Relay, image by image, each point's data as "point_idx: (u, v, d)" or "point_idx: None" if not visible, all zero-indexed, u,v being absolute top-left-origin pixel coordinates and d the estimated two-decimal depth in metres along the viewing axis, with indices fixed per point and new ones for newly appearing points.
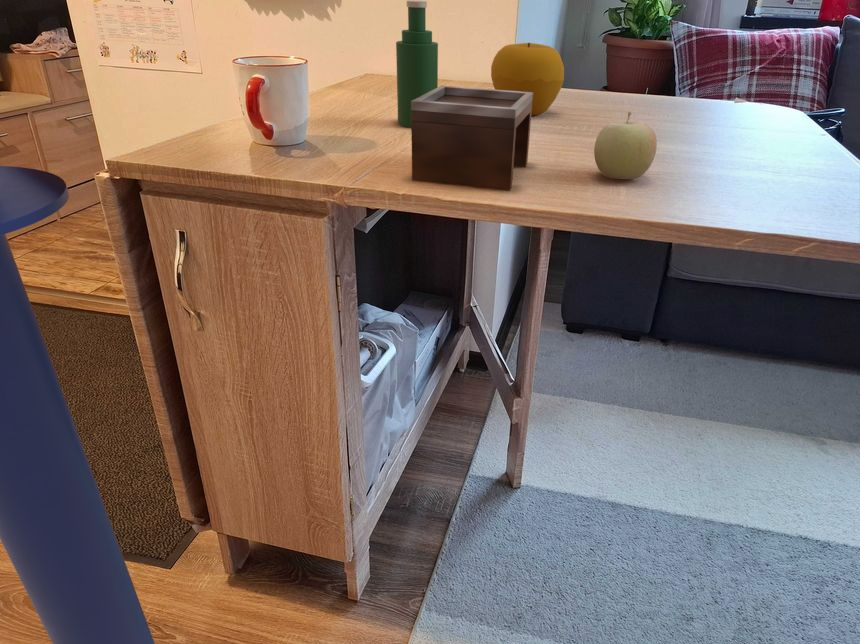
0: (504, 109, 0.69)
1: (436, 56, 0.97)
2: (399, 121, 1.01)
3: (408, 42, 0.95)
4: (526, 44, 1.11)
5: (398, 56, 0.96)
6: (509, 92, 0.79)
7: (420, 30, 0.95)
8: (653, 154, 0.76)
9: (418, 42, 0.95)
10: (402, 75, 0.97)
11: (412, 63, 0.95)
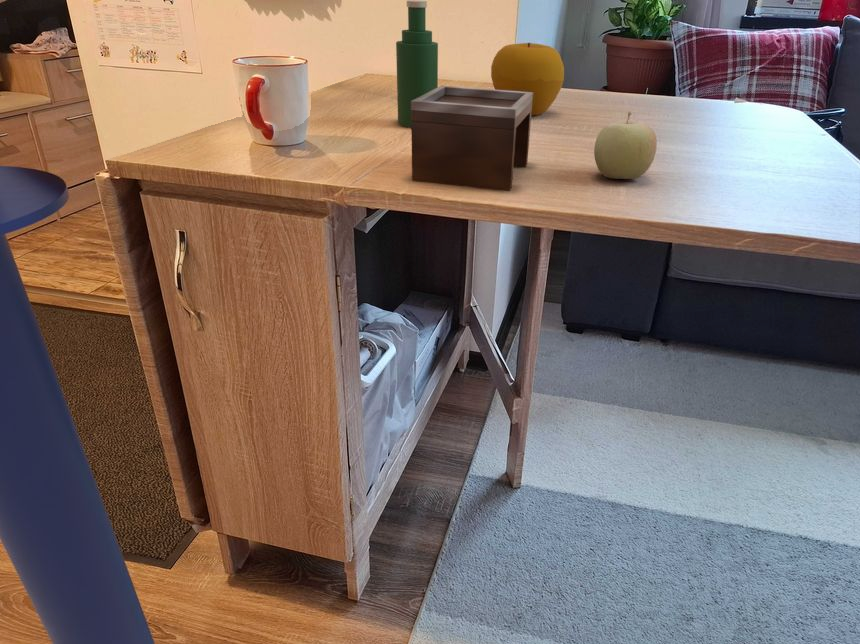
0: (504, 109, 0.69)
1: (436, 56, 0.97)
2: (399, 121, 1.01)
3: (408, 42, 0.95)
4: (526, 44, 1.11)
5: (398, 56, 0.96)
6: (509, 92, 0.79)
7: (420, 30, 0.95)
8: (653, 154, 0.76)
9: (418, 42, 0.95)
10: (402, 75, 0.97)
11: (412, 63, 0.95)
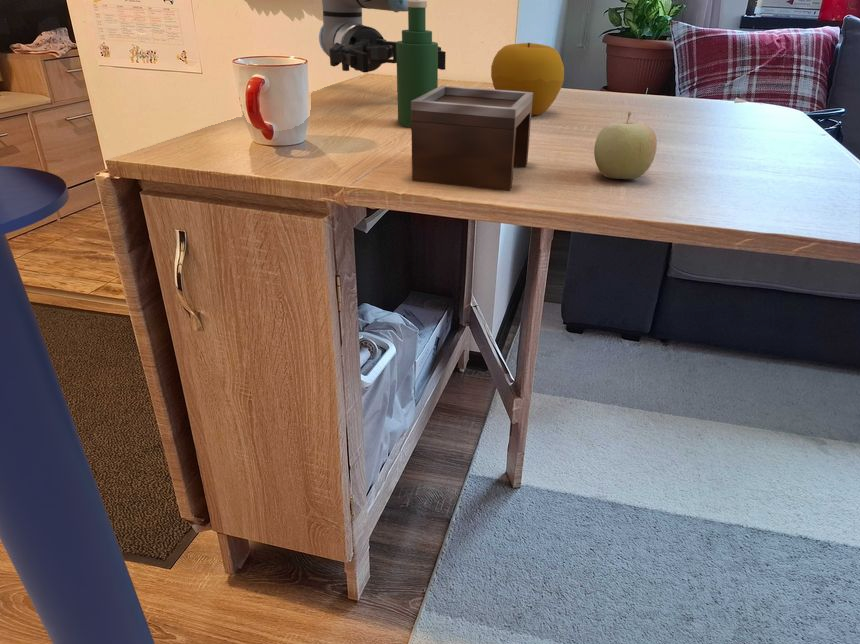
0: (504, 109, 0.69)
1: (436, 56, 0.97)
2: (399, 121, 1.01)
3: (408, 42, 0.95)
4: (526, 44, 1.11)
5: (398, 56, 0.96)
6: (509, 92, 0.79)
7: (420, 30, 0.95)
8: (653, 154, 0.76)
9: (418, 42, 0.95)
10: (402, 75, 0.97)
11: (412, 63, 0.95)
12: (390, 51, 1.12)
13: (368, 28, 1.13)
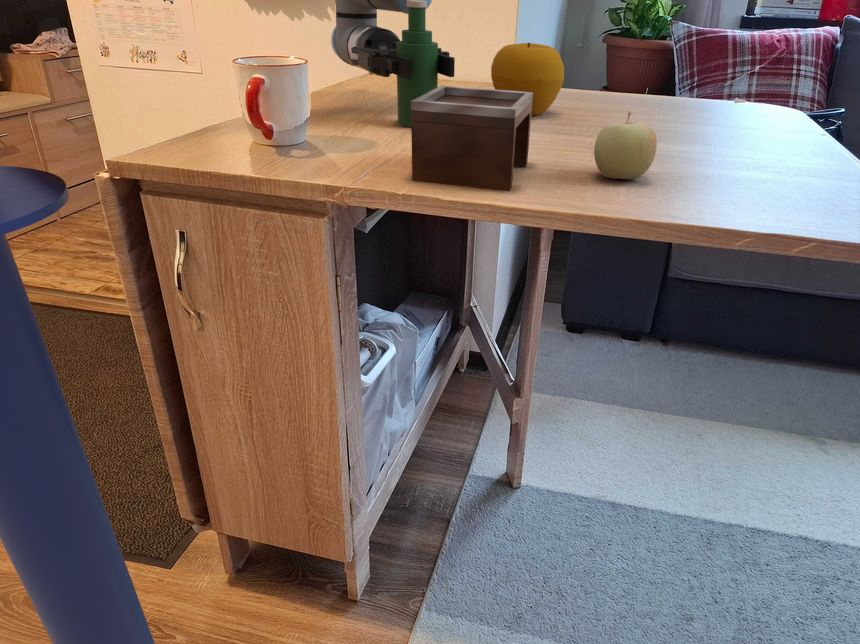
0: (504, 109, 0.69)
1: (436, 56, 0.97)
2: (399, 121, 1.01)
3: (408, 42, 0.95)
4: (526, 44, 1.11)
5: None
6: (509, 92, 0.79)
7: (420, 30, 0.95)
8: (653, 154, 0.76)
9: (418, 42, 0.95)
10: None
11: (412, 63, 0.95)
12: None
13: (384, 30, 1.07)
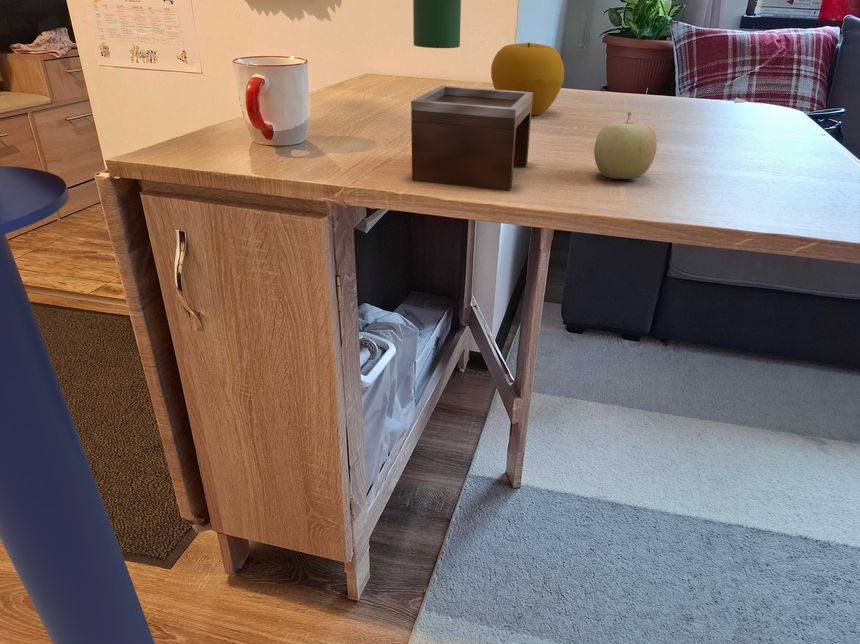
0: (504, 109, 0.69)
1: None
2: (415, 41, 0.86)
3: None
4: (526, 44, 1.11)
5: None
6: (509, 92, 0.79)
7: None
8: (653, 154, 0.76)
9: None
10: None
11: None
12: None
13: None
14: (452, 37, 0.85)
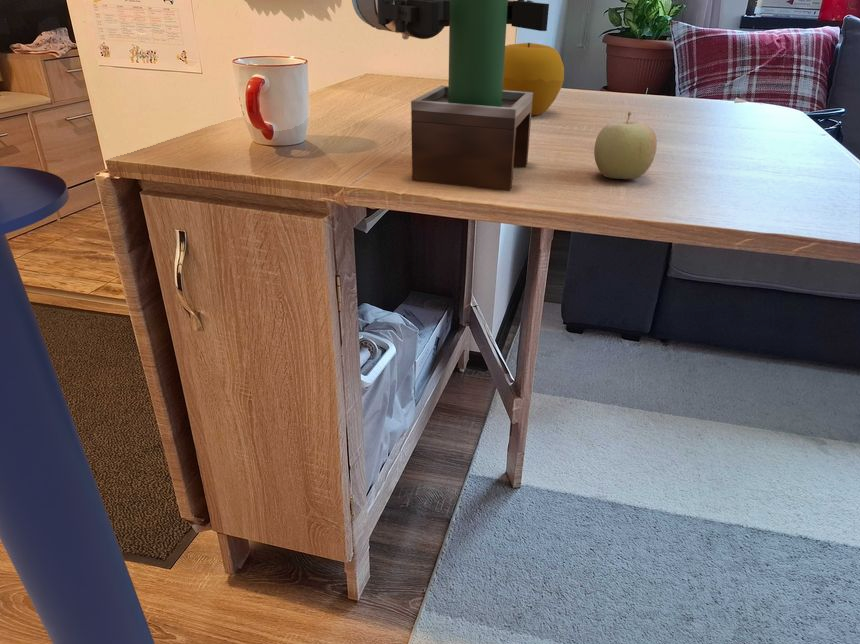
0: (504, 109, 0.69)
1: (506, 9, 0.69)
2: (451, 101, 0.74)
3: None
4: (526, 44, 1.11)
5: (453, 8, 0.69)
6: (509, 92, 0.79)
7: None
8: (653, 154, 0.76)
9: None
10: (459, 36, 0.69)
11: (473, 18, 0.68)
12: None
13: None
14: (494, 97, 0.73)
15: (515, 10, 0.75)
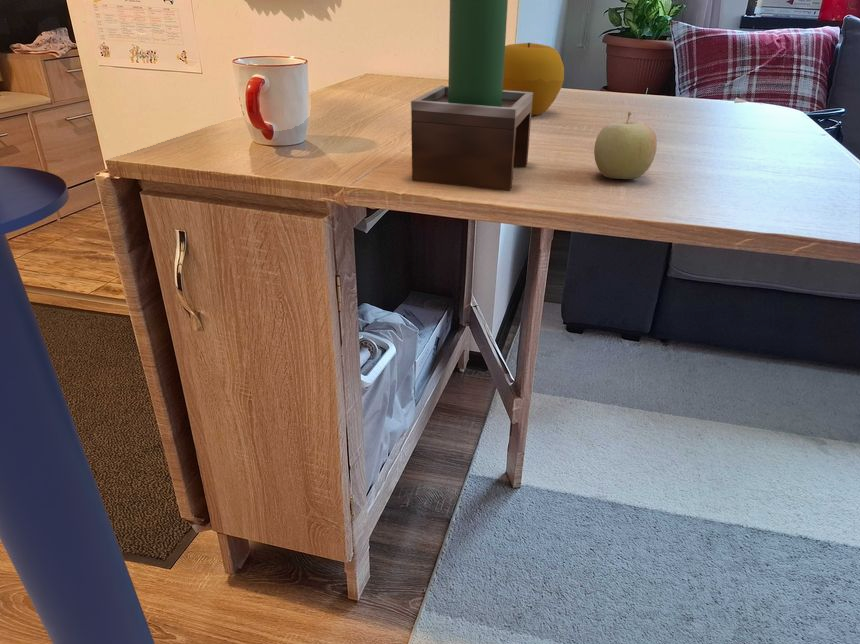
0: (504, 109, 0.69)
1: (506, 9, 0.69)
2: (451, 101, 0.74)
3: None
4: (526, 44, 1.11)
5: (453, 8, 0.69)
6: (509, 92, 0.79)
7: None
8: (653, 154, 0.76)
9: None
10: (459, 36, 0.69)
11: (473, 18, 0.68)
12: None
13: None
14: (494, 97, 0.73)
15: None
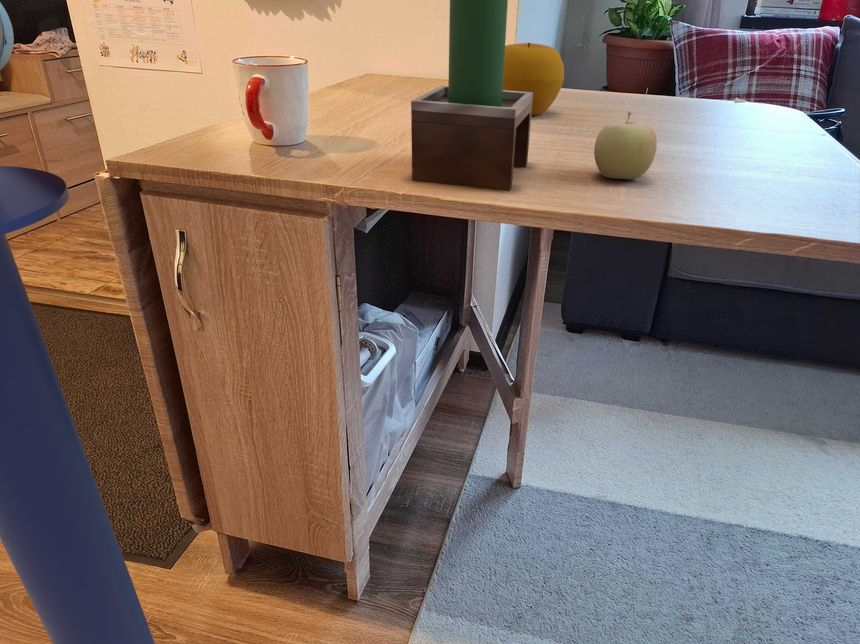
0: (504, 109, 0.69)
1: (506, 9, 0.69)
2: (451, 101, 0.74)
3: None
4: (526, 44, 1.11)
5: (453, 8, 0.69)
6: (509, 92, 0.79)
7: None
8: (653, 154, 0.76)
9: None
10: (459, 36, 0.69)
11: (473, 18, 0.68)
12: None
13: None
14: (494, 97, 0.73)
15: None
